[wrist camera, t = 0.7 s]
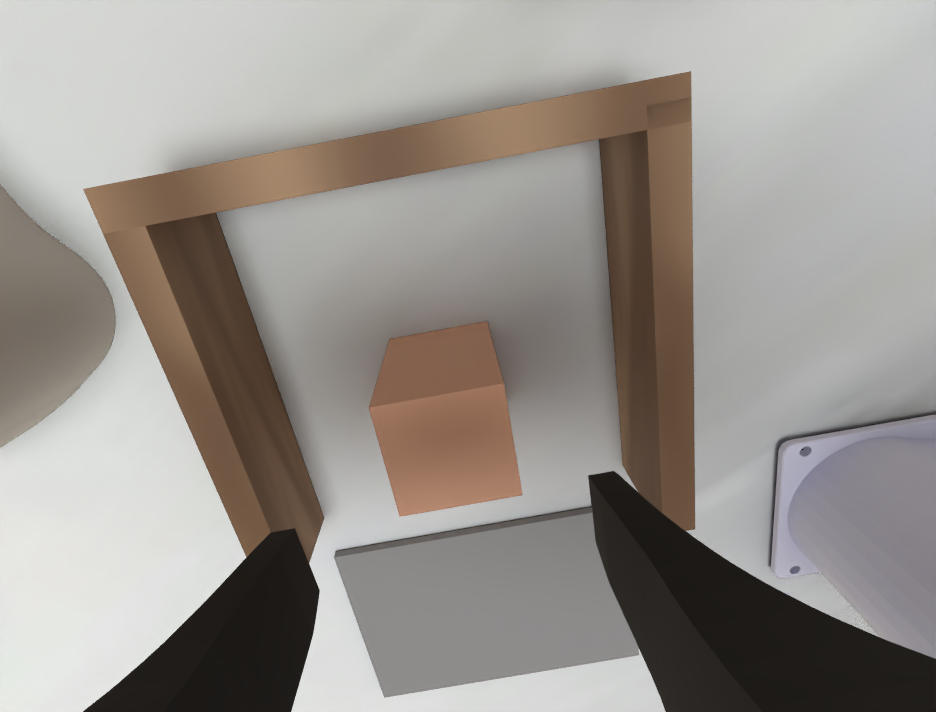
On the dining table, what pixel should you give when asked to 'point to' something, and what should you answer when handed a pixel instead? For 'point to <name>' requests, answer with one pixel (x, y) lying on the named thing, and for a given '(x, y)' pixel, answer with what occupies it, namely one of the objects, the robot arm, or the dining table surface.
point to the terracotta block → (444, 420)
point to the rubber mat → (485, 603)
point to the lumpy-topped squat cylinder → (45, 321)
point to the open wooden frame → (386, 157)
